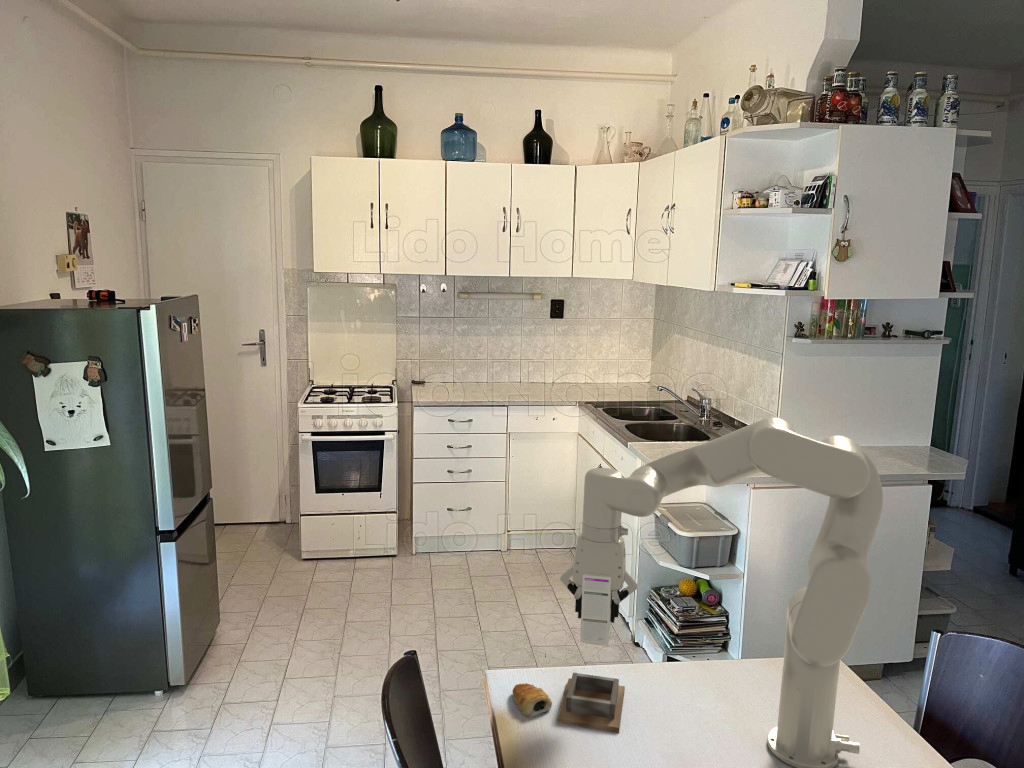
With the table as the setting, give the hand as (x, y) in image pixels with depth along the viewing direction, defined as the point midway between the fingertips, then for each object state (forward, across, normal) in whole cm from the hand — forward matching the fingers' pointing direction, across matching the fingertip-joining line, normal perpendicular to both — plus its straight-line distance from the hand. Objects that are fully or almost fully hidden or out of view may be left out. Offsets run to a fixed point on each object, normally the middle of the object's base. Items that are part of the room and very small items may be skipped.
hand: (596, 616), depth 151 cm
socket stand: (+19, 0, 0) cm, 19 cm away
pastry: (+20, +12, +3) cm, 23 cm away
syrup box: (+5, 0, 0) cm, 5 cm away
